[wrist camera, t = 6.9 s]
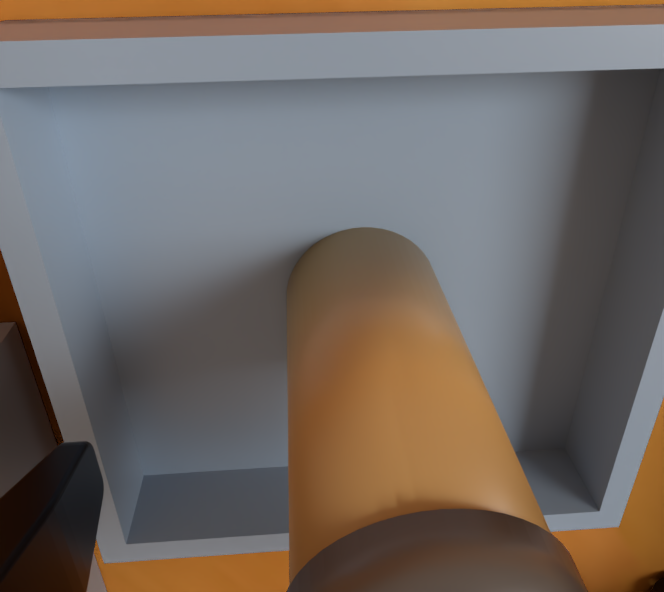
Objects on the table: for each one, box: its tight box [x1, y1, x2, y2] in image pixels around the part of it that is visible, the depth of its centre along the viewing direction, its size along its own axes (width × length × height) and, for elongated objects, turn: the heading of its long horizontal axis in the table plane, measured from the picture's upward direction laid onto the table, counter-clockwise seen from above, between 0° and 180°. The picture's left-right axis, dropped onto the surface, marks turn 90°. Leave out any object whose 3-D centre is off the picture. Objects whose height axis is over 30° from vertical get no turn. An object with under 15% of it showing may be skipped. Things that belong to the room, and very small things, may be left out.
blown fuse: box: [286, 227, 588, 592], centre depth 9 cm, size 3×3×8 cm
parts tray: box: [0, 4, 664, 563], centre depth 12 cm, size 12×11×2 cm
